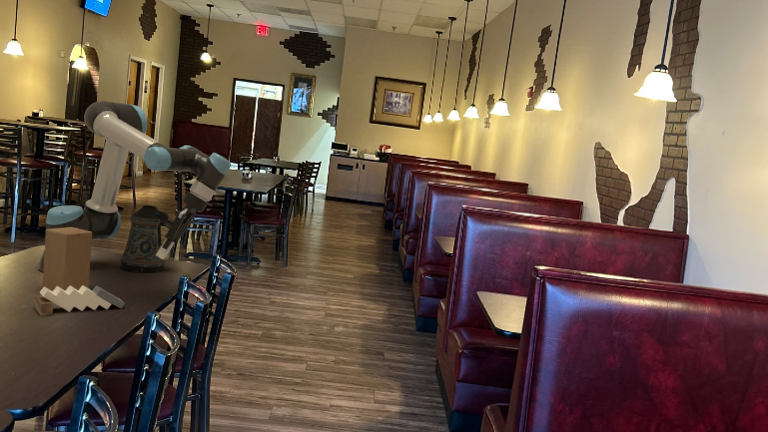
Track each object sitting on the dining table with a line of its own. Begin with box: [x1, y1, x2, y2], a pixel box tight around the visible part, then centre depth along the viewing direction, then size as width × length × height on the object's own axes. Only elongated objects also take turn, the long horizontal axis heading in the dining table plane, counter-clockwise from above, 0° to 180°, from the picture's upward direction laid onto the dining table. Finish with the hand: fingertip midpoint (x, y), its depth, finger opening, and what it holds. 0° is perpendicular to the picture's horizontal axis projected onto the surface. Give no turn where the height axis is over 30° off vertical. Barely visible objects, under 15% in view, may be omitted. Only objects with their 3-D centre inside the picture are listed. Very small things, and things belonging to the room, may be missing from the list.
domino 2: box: [53, 286, 88, 312], centre depth 193 cm, size 2×5×9 cm
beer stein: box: [120, 205, 174, 274], centre depth 255 cm, size 16×19×25 cm
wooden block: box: [42, 227, 93, 291], centre depth 213 cm, size 10×10×20 cm
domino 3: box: [66, 286, 100, 311], centre depth 196 cm, size 2×5×9 cm
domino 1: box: [39, 286, 75, 313], centre depth 191 cm, size 2×5×9 cm
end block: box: [34, 295, 54, 317], centre depth 189 cm, size 3×9×4 cm, turn 38°
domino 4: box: [78, 285, 112, 310], centre depth 198 cm, size 2×5×9 cm
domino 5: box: [92, 285, 126, 310], centre depth 200 cm, size 2×5×9 cm
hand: (159, 257), depth 213 cm, fingers closed
